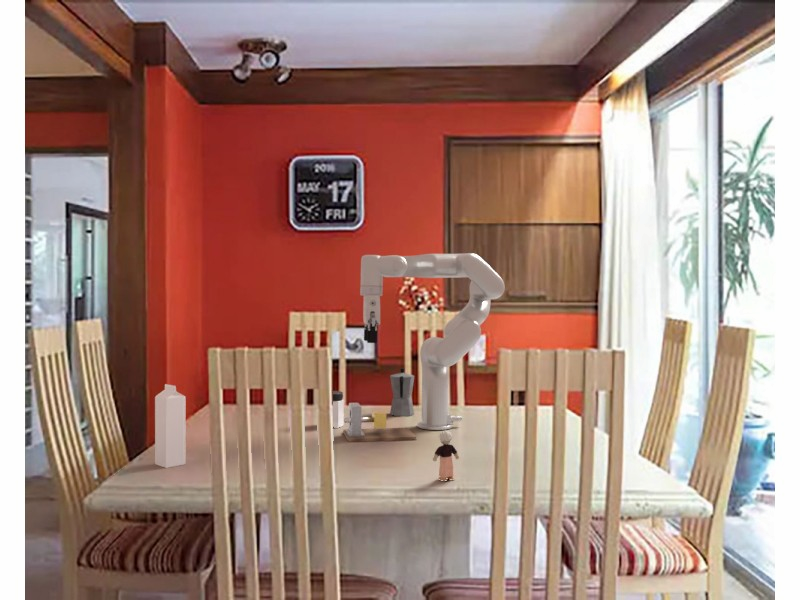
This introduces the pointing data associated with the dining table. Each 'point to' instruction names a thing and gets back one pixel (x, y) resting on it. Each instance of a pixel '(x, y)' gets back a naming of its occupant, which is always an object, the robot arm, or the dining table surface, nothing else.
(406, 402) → the coffeepot
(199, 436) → the dining table surface
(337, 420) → the jar
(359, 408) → the brushed steel socket base
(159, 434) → the milk
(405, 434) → the copper board
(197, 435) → the dining table surface
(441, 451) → the grandmother figurine
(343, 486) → the dining table surface
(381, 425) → the yellow block headed rod
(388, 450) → the dining table surface
